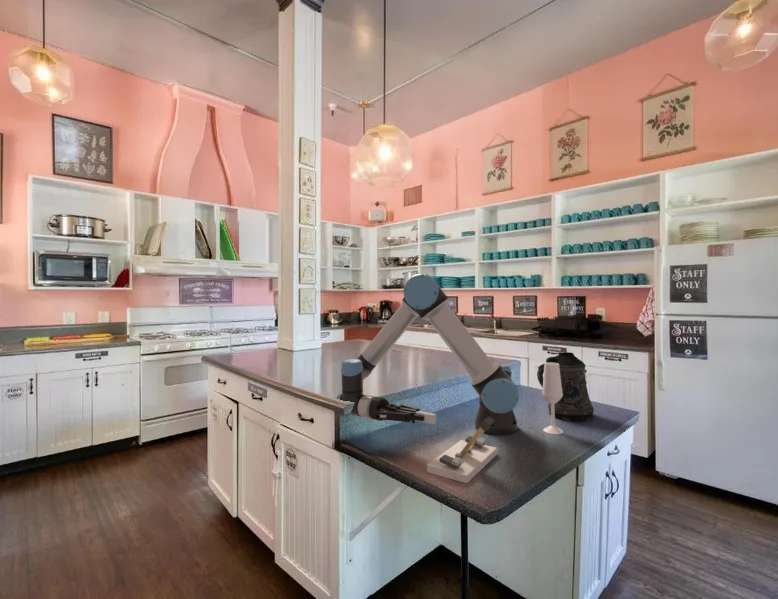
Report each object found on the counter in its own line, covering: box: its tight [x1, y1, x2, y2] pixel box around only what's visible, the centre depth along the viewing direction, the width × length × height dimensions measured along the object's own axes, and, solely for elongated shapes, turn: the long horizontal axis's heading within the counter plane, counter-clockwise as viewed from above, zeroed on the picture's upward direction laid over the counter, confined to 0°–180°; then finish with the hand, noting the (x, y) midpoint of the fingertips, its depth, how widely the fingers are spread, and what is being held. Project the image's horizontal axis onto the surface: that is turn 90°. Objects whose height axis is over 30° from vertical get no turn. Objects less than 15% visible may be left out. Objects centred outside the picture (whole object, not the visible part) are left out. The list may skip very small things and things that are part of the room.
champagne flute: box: [541, 362, 564, 435], centre depth 137 cm, size 7×7×24 cm
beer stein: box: [536, 351, 595, 423], centre depth 154 cm, size 16×19×25 cm
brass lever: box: [460, 416, 495, 457], centre depth 111 cm, size 4×2×14 cm
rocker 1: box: [439, 455, 462, 469], centre depth 106 cm, size 3×5×2 cm, turn 54°
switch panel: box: [426, 439, 498, 484], centre depth 113 cm, size 22×12×4 cm, turn 144°
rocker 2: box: [464, 435, 486, 448], centre depth 120 cm, size 3×5×2 cm, turn 54°
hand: (434, 419), depth 119 cm, fingers closed
